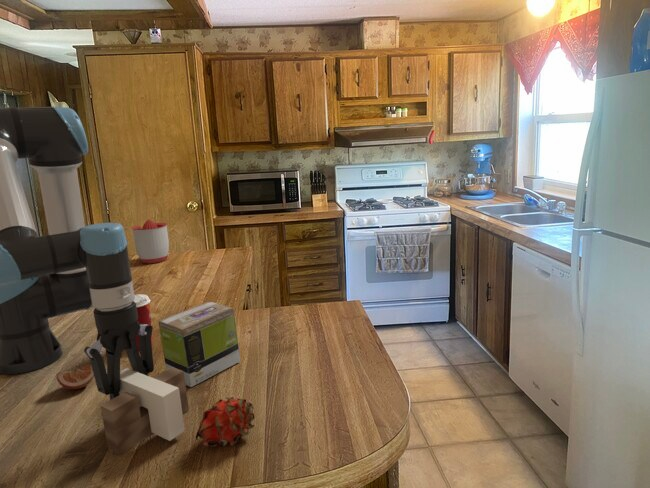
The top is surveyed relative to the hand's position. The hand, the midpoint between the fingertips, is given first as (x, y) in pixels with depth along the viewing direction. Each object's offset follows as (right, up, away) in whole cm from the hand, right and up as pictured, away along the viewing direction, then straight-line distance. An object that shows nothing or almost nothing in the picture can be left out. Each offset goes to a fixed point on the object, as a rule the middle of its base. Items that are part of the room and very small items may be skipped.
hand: (132, 413), depth 95 cm
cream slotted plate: (+5, -1, -3) cm, 6 cm away
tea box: (+9, +3, +20) cm, 22 cm away
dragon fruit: (+21, -2, -7) cm, 22 cm away
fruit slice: (-18, +1, +15) cm, 24 cm away
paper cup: (-12, +6, +35) cm, 37 cm away
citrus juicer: (-43, +26, +129) cm, 138 cm away
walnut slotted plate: (+5, -2, -3) cm, 6 cm away
